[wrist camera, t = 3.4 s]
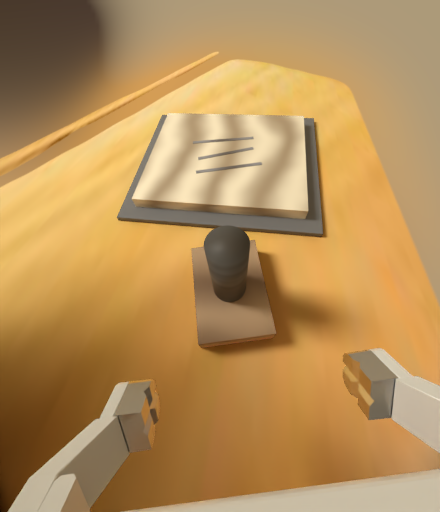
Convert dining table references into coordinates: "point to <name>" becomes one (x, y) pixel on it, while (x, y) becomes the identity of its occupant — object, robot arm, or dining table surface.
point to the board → (228, 166)
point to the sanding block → (230, 290)
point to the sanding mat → (244, 222)
